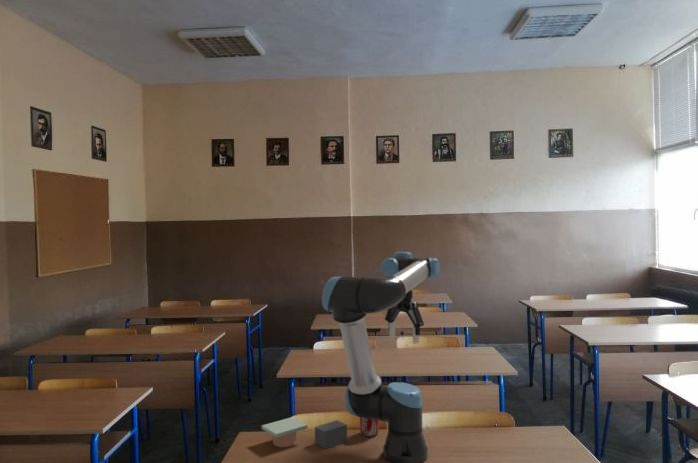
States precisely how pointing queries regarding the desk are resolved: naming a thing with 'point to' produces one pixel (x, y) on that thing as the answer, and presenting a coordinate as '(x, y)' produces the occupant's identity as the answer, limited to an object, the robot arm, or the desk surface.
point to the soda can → (369, 426)
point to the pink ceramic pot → (285, 440)
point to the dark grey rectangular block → (330, 434)
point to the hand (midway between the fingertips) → (403, 340)
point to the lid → (284, 427)
